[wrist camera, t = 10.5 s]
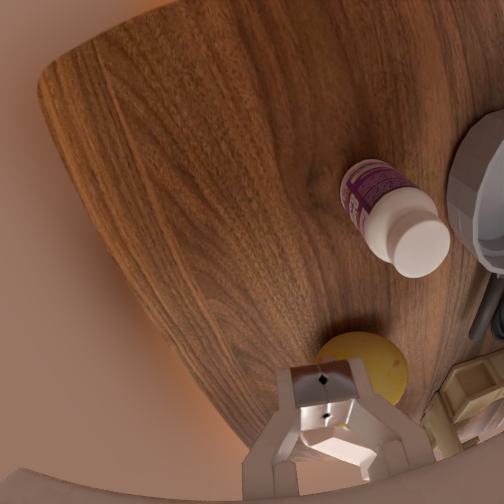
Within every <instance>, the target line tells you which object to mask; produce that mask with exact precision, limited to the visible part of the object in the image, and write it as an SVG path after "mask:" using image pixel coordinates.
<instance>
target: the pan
mask: <svg viewBox="0 0 504 504" xmlns="http://www.w3.org/2000/svg"><path fill="white" fill-rule="evenodd" d="M446 201H447V209H448V218H449V222H450V225H451V227H452V229H453V231H454V234H455V236H456V238H457V239H458V240H459V241H460V242H461V243H462V244H463V245H464V246H465V247H466V248H467V249H468V250H469V251H470V252H471V253H472V254H473V255H474V256H475V258H476V259H477V260H478V261H479V262H480V263H481V264H482V265H483V266H484V267H485V268H486V269H487V270H488V271H490V272H494V273H498V274H502V275H503V274H504V109H502V110H499V111H496V112H493V113H490V114H487V115H485V116H484V117H483V118H482V119H481V120H480V121H478V122H477V123H476V124H475V125H474V126H473V127H471V128H470V130H469V132H468V133H467V135H466V136H465V138H464V140H463V141H462V143H461V144H460V146H459V147H458V150H457V153H456V156H455V159H454V162H453V164H452V167H451V170H450V173H449V180H448V188H447V195H446Z"/></svg>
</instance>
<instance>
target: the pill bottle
mask: <svg viewBox="0 0 504 504" xmlns="http://www.w3.org/2000/svg"><path fill="white" fill-rule="evenodd" d="M340 197H341V202H342V205H343V207H344V208H345V210H346V212H347V213H348V215H349V216H350V218H351V219H352V221H353V222H354V224H355V226H356V227H357V229H358V230H359V232H360V233H361V235H362V236H363V238H364V239H365V241H366V243H367V244H368V246H369V248H370V249H371V250H372V252H373V253H374V254H375V255H376V256H377V257H379V258H380V259H382V260H384V261H386V262H389V263H392V264H393V265H394V267H395V268H396V269H397V271H398V272H399V273H400V274H402V275H403V276H406V277H410V278H418V277H422V276H425V275H427V274H429V273H431V272H432V271H434V270H435V269H436V268H437V267H438V266H439V265H440V264H441V263H442V261H443V260H444V259H445V257H446V255H447V253H448V250H449V247H450V234H449V231H448V229H447V227H446V226H445V224H444V223H443V222H442V221H441V220H440V219H439V218H438V212H437V209H436V206H435V204H434V202H433V201H432V199H431V198H430V197H429V196H428V195H427V194H426V193H425V192H424V191H422V190H421V189H420V188H419V187H417V186H416V185H415V184H413V183H412V182H411V181H410V180H408V179H407V178H406V177H405V176H403V175H402V174H401V173H399V172H398V171H397V170H395V169H394V168H393V167H391V166H390V165H389V164H387V163H385V162H383V161H381V160H376V159H368V160H363V161H361V162H359V163H357V164H355V165H354V166H353V167H351V168H350V169H349V170H348V171H347V173H346V174H345V176H344V178H343V180H342V183H341V187H340Z"/></svg>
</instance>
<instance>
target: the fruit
mask: <svg viewBox="0 0 504 504" xmlns="http://www.w3.org/2000/svg"><path fill="white" fill-rule="evenodd" d="M355 357H361V358H362V359H363V361H364V364H365V367H366V370H367V373H368V376H369V379H370V382H371V385H372V388H373V391H374V394H375V395H376V394H379V395H381V396H382V397H383V398H385V399H386V400H387V401H388V402H390V403H391V404H392V405H395V404H396V403H397V402H398V401H399V400H400V398H401V396H402V395H403V393H404V391H405V388H406V383H407V379H408V366H407V362H406V359H405V357H404V355H403V353H402V352H401V351H400V350H399V349H398V348H397V346H396V345H394V344H393V343H392V342H391V341H389V340H388V339H386V338H384V337H381V336H379V335H376V334H373V333H369V332H362V331H355V332H347V333H344V334H341V335H338V336H336V337H334V338H332V339H331V340H329V341H328V342H327V343H326V344H325V345H324V346H323V347H322V348H321V350H320V351H319V352H318V354H317V356H316V357H315V359H314V362H313V364H312V365H315V364H319V363H325V362H331V361H337V360H342V359H350V358H355ZM346 426H348V425H347V424H343V425H337V426H333V427H337V428H339V427H346Z"/></svg>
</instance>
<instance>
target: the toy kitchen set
mask: <svg viewBox="0 0 504 504" xmlns="http://www.w3.org/2000/svg"><path fill="white" fill-rule="evenodd" d="M502 397H504V348H503V349H501V350H498V351H495V352H493V353H490V354H487V355H485V356H484V355H483V356H480V357H478V358H475V359H472V360H469V361H466V362H463V363H460V364H457V365H454V366H452V368H451V370H450V372H449V374H448V376H447V377H446V379H445V381H444V383H443V385H442V386H441V388H440V390H439V392H436V393H435V394H434V396H433V398H432V399H431V401H430V403H429V405H428V406H427V408H426V410H425V413H426V414H425V416H424V417H423V419H422V420H421V422H420V425H421V427H422V428H424V429H425V430H426V432H427V435H428V438H429V441H430V444H431V447H432V450H433V452H434V451H437V450H440V452H441V454H442V457H443V459H445V458H448V457H450V456H453V455H455V454H457V453H460V452H462V451H464V450H467V449H469V448H471V447H473V446H475V445H477V443H478V442H479V437H478V436H477V437H475V438H473V439H471V440H469V441H467V442H464V443H462V444H461V443H460V440H459V438H458V434H459V432H460V431H461V430H462V429H463V427H464V426H465V425H466V424H467V423H468V421H469V420H470V419H471V417H472V416H474V415H475V414H476V413H478V412H479V411H481V410H482V409H483V408H485V407H486V406H487V405H488V404H490V403H491V402H492V401H495V400H497V399H500V398H502Z"/></svg>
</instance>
